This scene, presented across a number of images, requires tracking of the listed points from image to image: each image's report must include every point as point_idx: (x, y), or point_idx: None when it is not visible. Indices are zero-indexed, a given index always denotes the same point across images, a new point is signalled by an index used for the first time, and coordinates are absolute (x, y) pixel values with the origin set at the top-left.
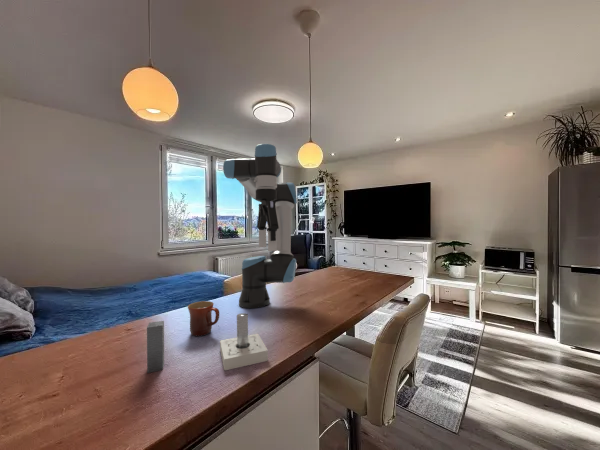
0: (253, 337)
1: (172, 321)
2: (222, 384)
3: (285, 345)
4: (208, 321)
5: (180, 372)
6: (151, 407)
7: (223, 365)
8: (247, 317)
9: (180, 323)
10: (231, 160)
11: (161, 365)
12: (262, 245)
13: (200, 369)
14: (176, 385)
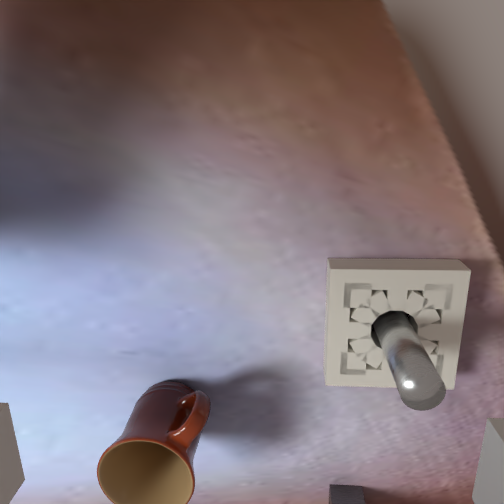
0: (354, 290)
1: (41, 474)
2: (501, 381)
3: (392, 176)
4: (188, 416)
5: (394, 455)
6: None
7: None
8: (433, 371)
9: (67, 454)
10: None
11: (363, 497)
12: (5, 463)
13: (404, 418)
14: (446, 461)
